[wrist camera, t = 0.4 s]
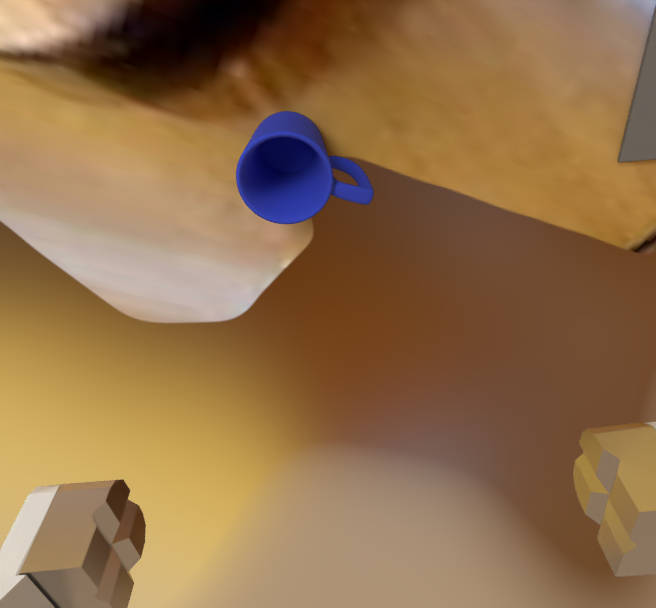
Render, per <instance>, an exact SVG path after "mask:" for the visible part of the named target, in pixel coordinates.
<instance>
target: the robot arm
mask: <svg viewBox="0 0 656 608" xmlns="http://www.w3.org/2000/svg"><path fill="white" fill-rule="evenodd" d="M579 444H580V446H581V448H582V450H583V452H584V453H583V454H582V455H581V456H580V457H578V458H577V459H576V460H575V465H574V471H573V476H574V484H575V490H576V493H577V496H578V499H579V501H580V504H581V506H582V508H583V510H584V512H585V514H586V515H587V516H589V517H590V518H591V519H593V520H594V521H595V522H597V523H598V524H599V525H600V528H599V532H598V536H597V540H598V542H599V544H600V546H601V548H602V550H603V552H604V554H605V556H606V558H607V560H608V562H609V564H610V566H611V568H612V570H613V572H614V574H615V576H616V577H620V576H636V575H651V574H656V422H649V423H642V422H641V423H633V424H624V425H616V426H608V427H599V428H591V429H586V430H585V431H584V432H583V433H582V434H581V438H580V442H579ZM129 493H130V489H129V488H128V486H127V485H126V483H125V482H124V480H112V481H98V482H85V483H73V484H61V485H51V486H41V487H36V488H35V489H34V490H33V491H32V492H31V493H30V494H29V495H28V496H27V499H26V500H25V502H24V504H23V506H22V508H21V510H20V512H19V514H18V516H17V518H16V520H15V522H14V524H13V526H12V528H11V530H10V532H9V534H8V536H7V538H6V540H5V542H4V544H3V546H2V548H1V550H0V608H127V607H128V603H129V600H130V596H131V592H132V589H133V585H134V582H133V579H132V577H131V575H130V573H129V571H130V569H131V568H132V567H133V566H134V565H135V564H136V563H137V562H138V561H139V559H140V558H141V555H142V551H143V547H144V543H145V526H146V525H145V521H144V517H143V513H142V511H141V509H140V507H139V505H137V504H135V503H133V502H131V501H129V500H128V496H129Z"/></svg>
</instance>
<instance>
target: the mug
mask: <svg viewBox="0 0 656 608" xmlns="http://www.w3.org/2000/svg"><path fill="white" fill-rule="evenodd" d="M332 168H334V169H338V170H341V171H343V172H345V173H347V174H349V175H350V176H351V177H353V178H354V179H355V181H356V182H357V184H358V186H355V185H350V184H346V183H343V182H340V181H338V180H336V179H335V178H334V176H333V170H332ZM236 180H237V186H238V190H239V193H240V195H241V197H242V199H243V201H244V202H245V204H246V205H247V206H248V207H249V208H250V209H251V210H252V211H253V212H254V213H255V214H257V215H258V216H260V217H261V218H263V219H265V220H268V221H270V222H274V223H279V224H294V223H299V222H302V221H305V220H307V219H309V218H311V217H313V216H314V215H315V214H317V213H318V212H319V211H320V210H321V209H322V208H323V207H324V205H325V204H326V203H327V201H328V199H329V197H330V195H333V196H336V197H338V198H341V199H344V200H347V201H351V202H355V203H360V204H366V205H367V204H369V203H370V202H371V200H372V198H373V194H374V191H373V188H372V185H371V183H370V181H369V179H368V177H367V175H366V174H365V173H364V171H363V170H362V168H361V167H360V166H359V165H357V164H356V163H355V162H353V161H351V160H349V159H346V158H343V157H339V156H329V157H328V154H327V151H326V148H325V145H324V142H323V138H322V136H321V133H320V131H319V129H318V128H317V126H316V125H315V124H314V123H313V122H312V121H311V120H310V119H308V118H307V117H305V116H304V115H301V114H299V113H296V112H290V111H285V112H279V113H275V114H273V115H271V116H269V117H267V118H266V119H265V120H264V121H263V122H262V123H261V124H260V125H259V126H258V128H257V129H256V131H255V133H254V134H253V136H252V138H251V140H250V141H249V143H248V145H247V146H246V148H245V150H244V151H243V153H242V155H241V157H240V159H239V162H238V165H237V171H236Z"/></svg>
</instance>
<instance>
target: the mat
mask: <svg viewBox="0 0 656 608" xmlns="http://www.w3.org/2000/svg"><path fill="white" fill-rule="evenodd" d="M651 159H656V6H655V10H654V14H653V18H652V22H651V27H650V31H649V35H648V39H647V43H646V47H645V51H644V55H643V59H642V63H641V67H640V71H639V76H638V80H637V84H636V88H635V92H634V96H633V100H632V104H631V108H630V112H629V116H628V120H627V124H626V129H625V133H624V137H623V141H622V145H621V149H620V153H619V157H618V161H619V162H627V161H639V160H651Z"/></svg>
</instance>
